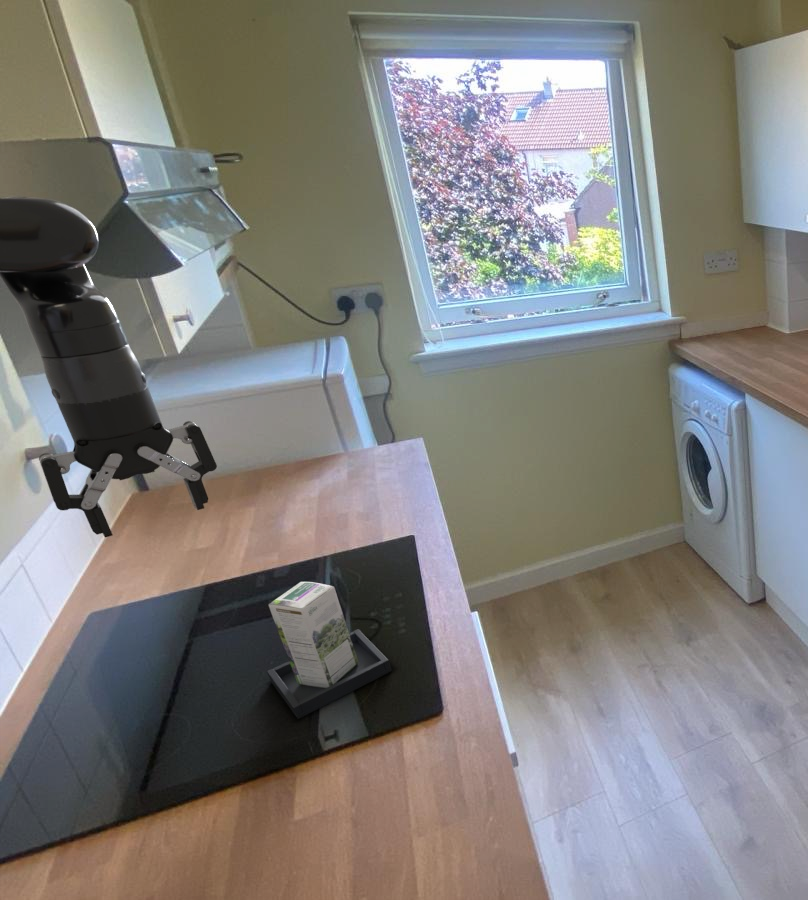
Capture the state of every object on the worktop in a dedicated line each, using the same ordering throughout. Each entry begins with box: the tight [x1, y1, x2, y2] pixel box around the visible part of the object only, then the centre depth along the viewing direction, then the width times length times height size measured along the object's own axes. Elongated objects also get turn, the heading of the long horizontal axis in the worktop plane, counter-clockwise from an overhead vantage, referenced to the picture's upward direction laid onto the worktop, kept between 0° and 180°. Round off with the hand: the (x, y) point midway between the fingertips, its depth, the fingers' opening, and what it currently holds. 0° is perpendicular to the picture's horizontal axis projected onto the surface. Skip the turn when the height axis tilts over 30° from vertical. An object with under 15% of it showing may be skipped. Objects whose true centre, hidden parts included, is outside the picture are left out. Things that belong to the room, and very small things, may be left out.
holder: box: [266, 628, 393, 720], centre depth 109 cm, size 13×12×2 cm
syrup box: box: [268, 581, 358, 688], centre depth 106 cm, size 6×6×14 cm
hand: (154, 520), depth 86 cm, fingers open, 8 cm apart
